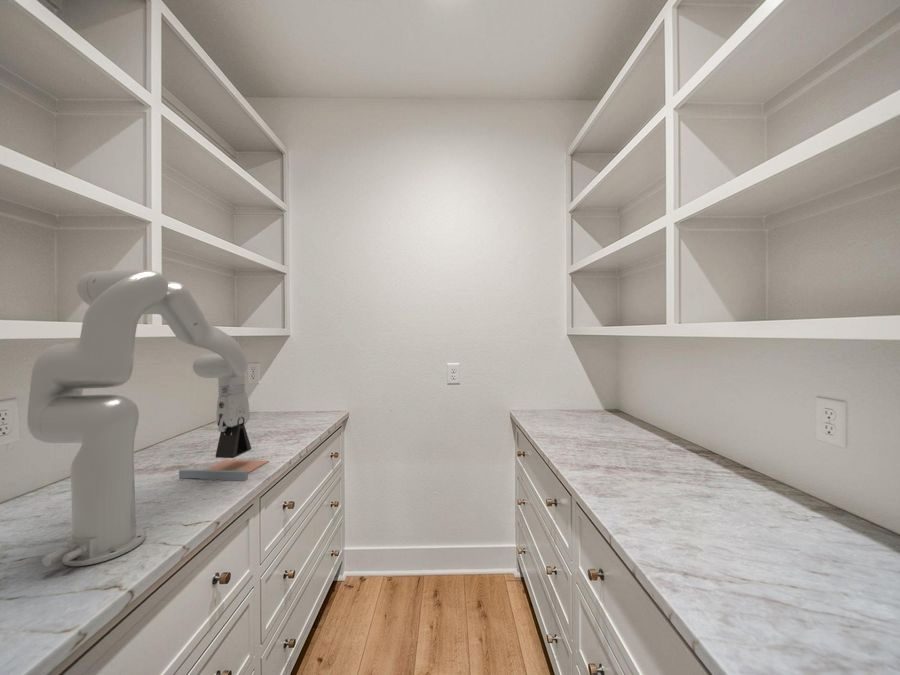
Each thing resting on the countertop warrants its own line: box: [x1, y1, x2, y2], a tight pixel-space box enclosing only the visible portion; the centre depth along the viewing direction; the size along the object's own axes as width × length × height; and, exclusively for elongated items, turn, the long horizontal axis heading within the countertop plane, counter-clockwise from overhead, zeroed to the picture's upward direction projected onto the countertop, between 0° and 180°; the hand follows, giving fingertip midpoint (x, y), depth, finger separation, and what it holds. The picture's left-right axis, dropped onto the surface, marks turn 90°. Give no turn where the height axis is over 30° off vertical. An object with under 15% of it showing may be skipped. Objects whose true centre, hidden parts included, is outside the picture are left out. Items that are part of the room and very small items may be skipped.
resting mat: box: [204, 459, 270, 474], centre depth 122 cm, size 13×16×1 cm
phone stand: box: [215, 417, 252, 459], centre depth 122 cm, size 9×6×12 cm, turn 172°
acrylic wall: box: [178, 468, 249, 482], centre depth 113 cm, size 1×22×2 cm, turn 82°
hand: (233, 445), depth 122 cm, fingers closed on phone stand, 1 cm apart
